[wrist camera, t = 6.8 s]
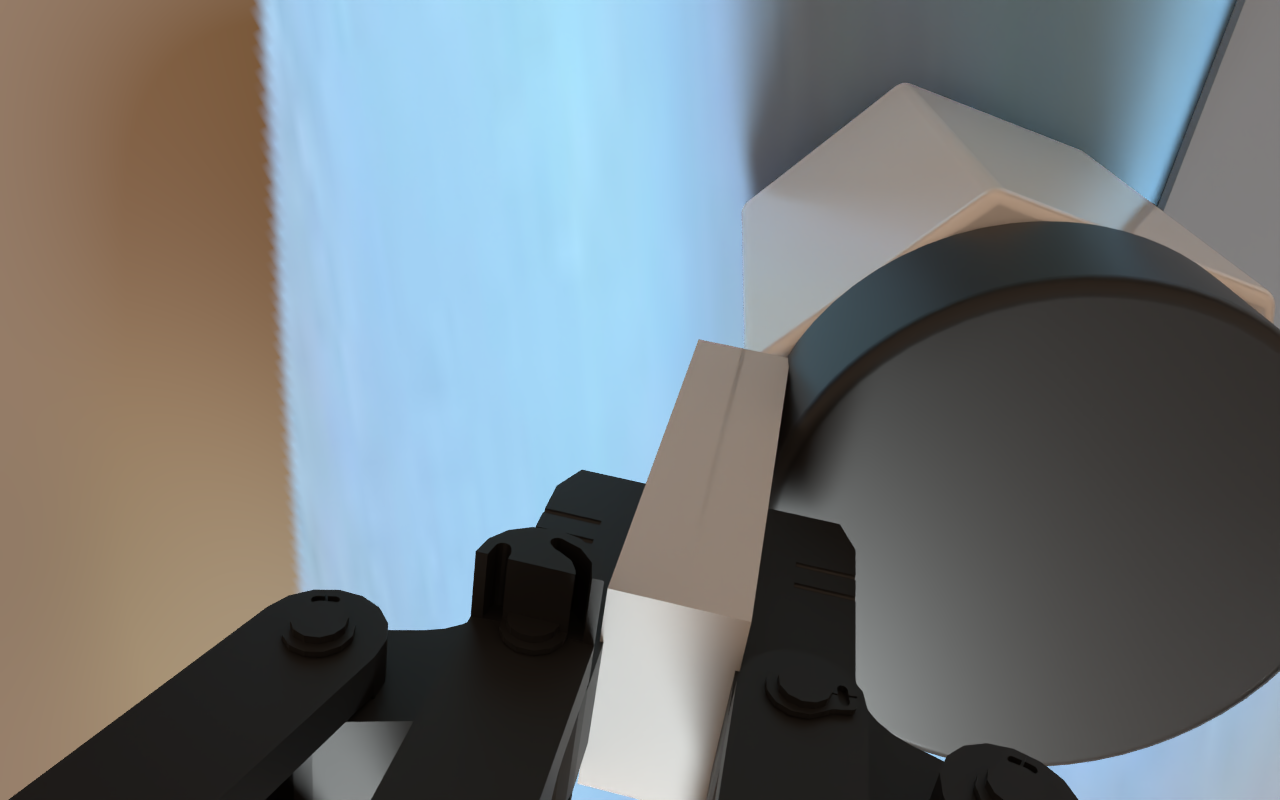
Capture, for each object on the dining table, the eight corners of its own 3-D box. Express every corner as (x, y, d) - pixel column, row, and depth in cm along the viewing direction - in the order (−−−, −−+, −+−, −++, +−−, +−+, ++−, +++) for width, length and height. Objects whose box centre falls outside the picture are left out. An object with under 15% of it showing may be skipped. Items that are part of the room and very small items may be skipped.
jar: (682, 351, 26) (645, 669, 15) (811, 37, 23) (879, 170, 12) (999, 465, 27) (1173, 845, 16) (1174, 179, 23) (1549, 425, 13)
